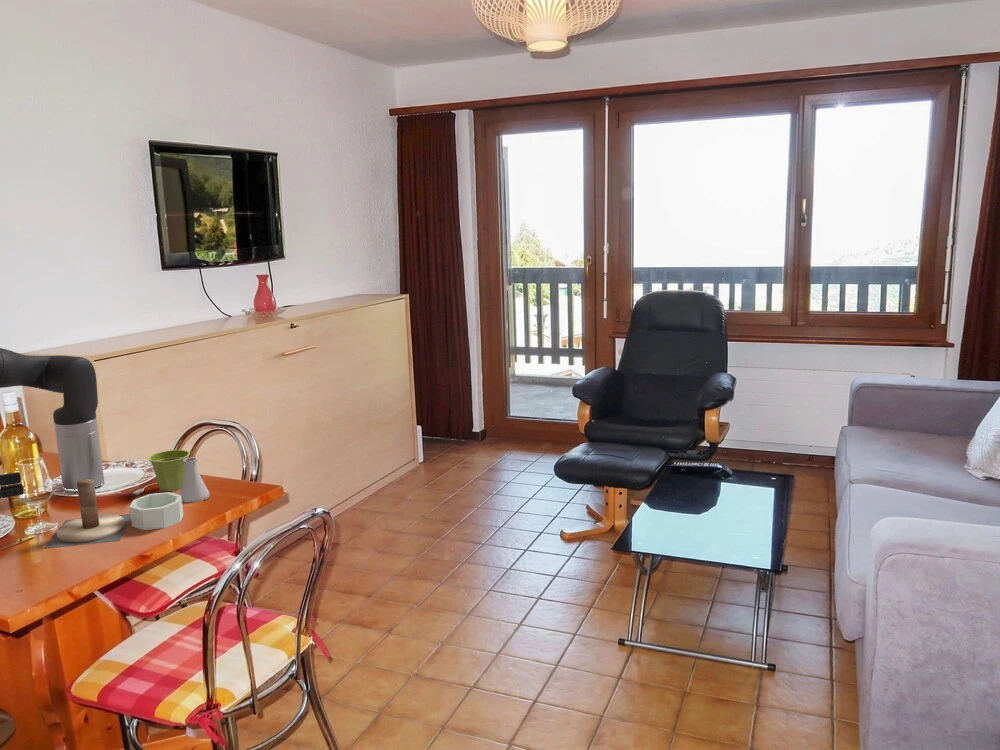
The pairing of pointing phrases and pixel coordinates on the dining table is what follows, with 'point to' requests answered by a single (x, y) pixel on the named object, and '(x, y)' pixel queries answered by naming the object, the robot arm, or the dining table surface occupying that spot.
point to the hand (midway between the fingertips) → (21, 482)
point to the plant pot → (169, 468)
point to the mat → (116, 537)
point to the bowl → (156, 511)
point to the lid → (89, 519)
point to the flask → (193, 483)
